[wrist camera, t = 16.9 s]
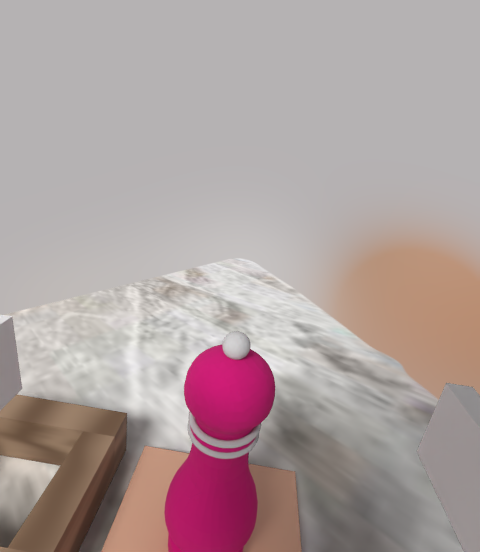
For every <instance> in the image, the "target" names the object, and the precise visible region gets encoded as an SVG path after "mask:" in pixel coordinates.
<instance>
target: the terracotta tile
mask: <svg viewBox="0 0 480 552" xmlns="http://www.w3.org/2000/svg"><path fill="white" fill-rule="evenodd" d="M188 455H189V453H183V452H178V451H172V450H166V449H160V448H154V447H148V446H145V447H144V449H143V452H142V454H141V456H140V459H139V461H138V464H137V466H136V469H135V471H134V473H133V476H132V478H131V481H130V483H129V485H128V488H127V490H126V493H125V495H124V498H123V500H122V502H121V505H120V507H119V510H118V512H117V515H116V517H115V519H114V522H113V524H112V527H111V529H110V532H109V534H108V536H107V539H106V541H105V544H104V546H103V548H102V551H101V552H169V551H168V535H169V533H168V530H167V526H166V523H165V514H164V511H165V501H166V496H167V492H168V489H169V486H170V483H171V481H172V479H173V477H174V475H175V473H176V472H177V470H178V469H179V468H180V466H181V465H182V464H183V463H184V462H185V460H186V459H187V458H188ZM248 465H249V470H250V473H251V475H252V477H253V480H254V483H255V486H256V492H257V499H258V508H257V518H256V523H255V527H254V530H253V532H252V534H251V537H250V538H249V540H248V541H247V543H246V544H245V545H244V548H243V552H302V551H301V538H300V526H299V514H298V501H297V489H296V476H295V472H294V471H288V470H282V469H277V468H271V467H265V466H259V465H253V464H248Z"/></svg>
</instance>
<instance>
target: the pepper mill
mask: <svg viewBox="0 0 480 552" xmlns="http://www.w3.org/2000/svg"><path fill="white" fill-rule="evenodd" d="M184 396H185V401H186V405H187V407H188V409H189V410H190V412H189V421H188V434H189V436H190V439H191V441H192V442H193V443H192V447H191V451H190V453H189V455H188V458H187V459H186V460H185V462H184V463H183V464H182V465H181V466H180V468H179V469H178V470H177V472H176V473H175V475H174V477H173V479H172V481H171V483H170V486H169V489H168V492H167V496H166V501H165V511H164V514H165V523H166V526H167V530H168V533H169V535H168V551H169V552H243V548H244V545H245V544H246V543H247V541H248V540H249V538H250V537H251V534H252V532H253V530H254V527H255V523H256V518H257V508H258V499H257V492H256V486H255V483H254V480H253V477H252V475H251V473H250V470H249V465H248V455H249V451H251V450H252V448H253V447H254V446H255V445H256V443H257V441H258V438H259V431H260V428H261V422H262V421H263V420H264V419H265V418H266V417H267V416H268V414H269V413H270V410H271V408H272V405H273V401H274V397H275V382H274V376H273V374H272V371H271V369H270V367H269V365H268V364H267V362H266V361H265V360H264V359H263V358H262V357H261V356H260V355H259V354H257V353H256V352H254V351H253V350H251V349H250V340H249V338H248V337H247V336H246V334H244V333H242V332H239V331H234V332H231V333H229V334H228V335H227V336H226V337H225V338H224V340H223V344H222V345H218V346H214V347H212V348H210V349H207V350H205V351H204V352H202V353H201V354H200V355H199V356H198V357H197V358H196V359H195V360H194V361H193V363H192V365H191V366H190V368H189V370H188V372H187V376H186V380H185V384H184Z"/></svg>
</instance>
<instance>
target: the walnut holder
mask: <svg viewBox="0 0 480 552" xmlns="http://www.w3.org/2000/svg"><path fill="white" fill-rule="evenodd" d="M126 434H127V413H123V412H117V411H111V410H105V409H99V408H93V407H87V406H81V405H75V404H69V403H64V402H58V401H52V400H46V399H40V398H34V397H28V396H22V395H15V396H14V397H13V398H12V399H11V400H10V401H9V402H8V403H7V404H6V405H5V406H4V407H3V408H2V409H1V410H0V455H3V456H9V457H15V458H21V459H26V460H32V461H38V462H44V463H49V464H55V465H61V466H60V468H59V469H58V471H57V472H56V474H55V475H54V477H53V479H52V480H51V482H50V483H49V485H48V486H47V488H46V489H45V491H44V492H43V494H42V495H41V497H40V499H39V500H38V502H37V503H36V505H35V506H34V508H33V509H32V511H31V512H30V514H29V515H28V517H27V519H26V520H25V522H24V523H23V525H22V526H21V528H20V529H19V531H18V532H17V534H16V535H15V537H14V539H13V540H12V542H11V543H10V545H9V546H8V548H5V547H0V552H78V551H79V549H80V547H81V545H82V543H83V541H84V538H85V536H86V534H87V532H88V530H89V528H90V526H91V523H92V521H93V519H94V517H95V515H96V513H97V511H98V509H99V506H100V504H101V502H102V500H103V498H104V496H105V494H106V491H107V489H108V487H109V485H110V483H111V481H112V479H113V477H114V474H115V472H116V470H117V468H118V466H119V464H120V462H121V460H122V457H123V455H124V453H125V451H126Z"/></svg>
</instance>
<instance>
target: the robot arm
mask: <svg viewBox="0 0 480 552" xmlns="http://www.w3.org/2000/svg"><path fill="white" fill-rule="evenodd" d="M21 389H22V384H21V377H20V369H19V362H18V355H17V348H16V340H15V333H14V326H13V319H12V316H6V315H0V410H1V409H2V408H3V407H4V406H5V405H6V404H7V403H8V402H9V401H10V400H11V399H12V398H13V397H14V396H15V395H16V394H17V393H18V392H19V391H20V390H21ZM417 453H418V456H419V458H420V460H421V462H422V464H423V466H424V468H425V470H426V472H427V475H428V477H429V479H430V481H431V483H432V485H433V487H434V489H435V491H436V494H437V496H438V498H439V500H440V502H441V504H442V506H443V508H444V510H445V512H446V515H447V517H448V519H449V521H450V523H451V525H452V527H453V529H454V531H455V534H456V536H457V538H458V540H459V542H460V544H461V546H462V548H463V550H464V552H480V396H479V394H478V393H477V392H476V391H475V389H474V388H473V387H469V386H463V385H456V384H450V383H446V385H445V387H444V389H443V392H442V394H441V396H440V399H439V401H438V403H437V406H436V408H435V410H434V412H433V415H432V417H431V419H430V422H429V424H428V426H427V429H426V431H425V433H424V436H423V438H422V440H421V443H420V445H419V447H418V449H417Z"/></svg>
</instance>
